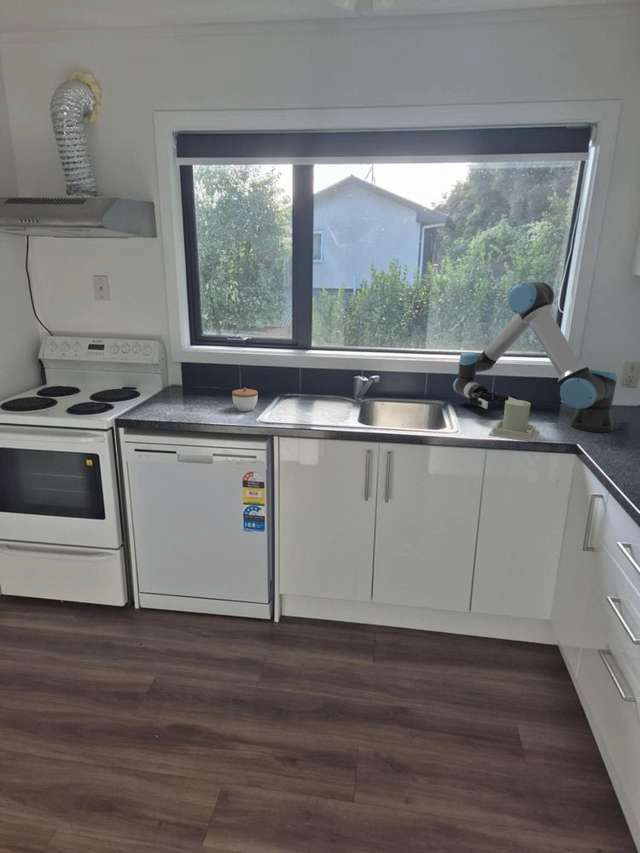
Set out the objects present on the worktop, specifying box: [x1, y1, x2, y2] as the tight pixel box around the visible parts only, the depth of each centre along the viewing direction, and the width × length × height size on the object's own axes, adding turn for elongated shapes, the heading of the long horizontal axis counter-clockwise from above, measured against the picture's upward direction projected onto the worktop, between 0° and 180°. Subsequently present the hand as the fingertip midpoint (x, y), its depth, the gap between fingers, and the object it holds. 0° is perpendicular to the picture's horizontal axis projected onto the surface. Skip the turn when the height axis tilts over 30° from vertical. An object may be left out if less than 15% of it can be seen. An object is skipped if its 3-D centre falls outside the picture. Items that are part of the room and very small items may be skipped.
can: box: [502, 399, 532, 433], centre depth 204 cm, size 9×9×12 cm
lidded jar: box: [231, 387, 259, 412], centre depth 228 cm, size 11×11×9 cm
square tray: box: [488, 419, 540, 443], centre depth 206 cm, size 16×16×2 cm
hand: (502, 404), depth 213 cm, fingers open, 13 cm apart
